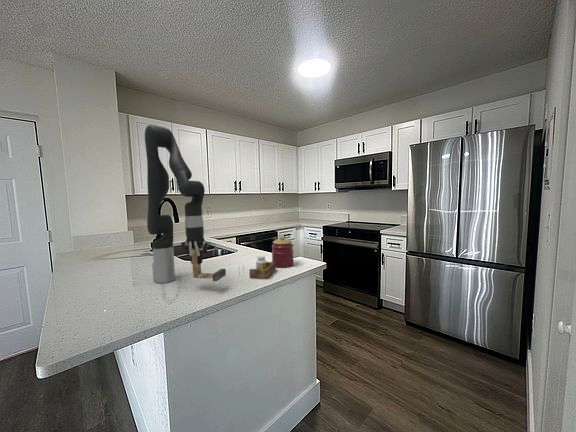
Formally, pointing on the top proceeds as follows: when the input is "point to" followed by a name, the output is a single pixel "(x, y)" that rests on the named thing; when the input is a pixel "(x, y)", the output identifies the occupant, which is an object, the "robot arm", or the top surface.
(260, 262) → the supplement bottle
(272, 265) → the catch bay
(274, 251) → the canister
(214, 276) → the wooden l-shaped bracket
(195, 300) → the top surface
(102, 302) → the top surface
